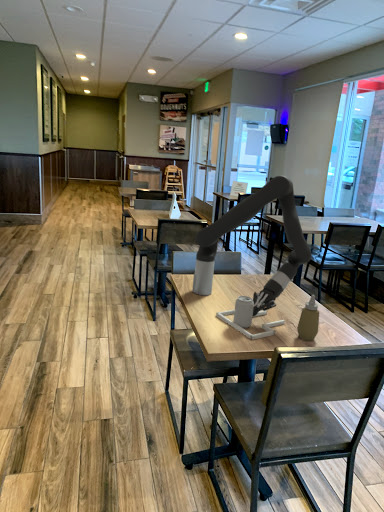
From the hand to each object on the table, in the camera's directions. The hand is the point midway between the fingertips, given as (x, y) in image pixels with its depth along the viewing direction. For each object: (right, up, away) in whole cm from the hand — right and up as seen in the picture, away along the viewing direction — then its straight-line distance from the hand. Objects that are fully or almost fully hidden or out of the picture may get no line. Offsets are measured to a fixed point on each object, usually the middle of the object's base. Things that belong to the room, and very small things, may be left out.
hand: (251, 314), depth 162 cm
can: (-4, -4, -1) cm, 6 cm away
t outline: (+1, -4, +2) cm, 4 cm away
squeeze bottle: (+20, -8, -8) cm, 23 cm away
